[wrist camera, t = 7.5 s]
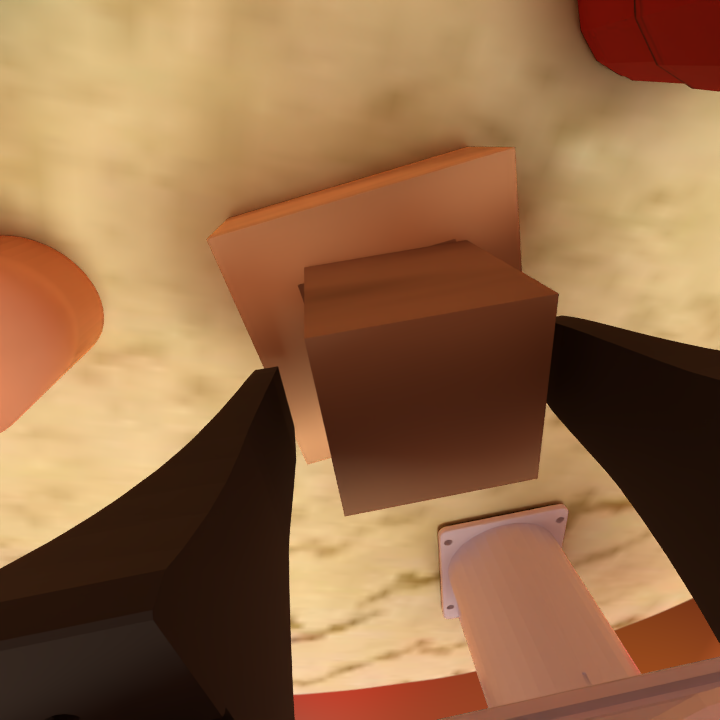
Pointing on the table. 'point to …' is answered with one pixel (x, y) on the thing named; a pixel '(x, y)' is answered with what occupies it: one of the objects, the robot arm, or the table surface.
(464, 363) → the walnut cube
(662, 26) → the plastic cup
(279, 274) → the oak block
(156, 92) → the table surface
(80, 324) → the terracotta cylinder
